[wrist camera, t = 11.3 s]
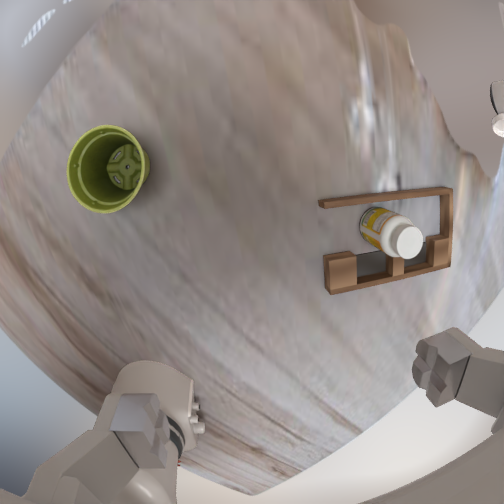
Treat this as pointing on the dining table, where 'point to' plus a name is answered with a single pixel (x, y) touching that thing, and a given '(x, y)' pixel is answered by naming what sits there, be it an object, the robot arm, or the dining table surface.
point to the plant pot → (106, 169)
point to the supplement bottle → (391, 233)
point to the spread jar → (498, 106)
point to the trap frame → (379, 263)
